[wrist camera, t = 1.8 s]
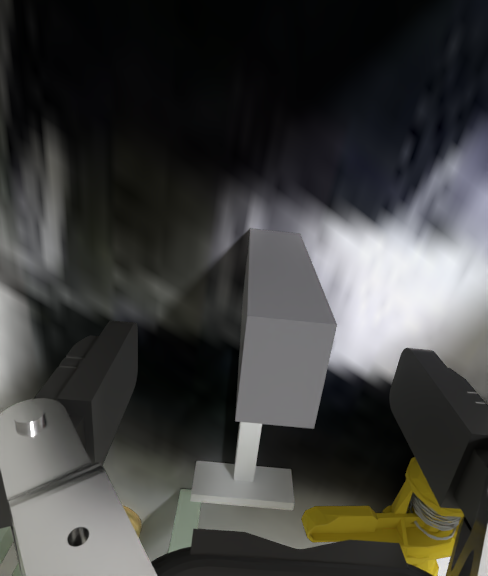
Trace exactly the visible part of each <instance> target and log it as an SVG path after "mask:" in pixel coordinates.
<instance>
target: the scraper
mask: <svg viewBox="0 0 488 576" xmlns="http://www.w3.org/2000/svg"><path fill="white" fill-rule="evenodd" d="M336 326H337V324H336V321H335V319H334V316H333V314H332V311H331V309H330V306H329V304H328V302H327V299H326V297H325V294H324V292H323V289H322V287H321V284H320V282H319V279H318V277H317V274H316V272H315V269H314V267H313V264H312V262H311V259H310V257H309V254H308V252H307V249H306V247H305V244H304V242H303V240H302V237H301V235H300V234H299V233H289V232H279V231H269V230H260V229H250V234H249V244H248V253H247V262H246V272H245V281H244V290H243V302H242V318H241V334H240V351H239V367H238V384H237V400H236V416H235V421H237V422H239V430H238V439H237V447H236V455H235V464H229V463H218V462H207V461H196V466H195V472H194V478H193V484H192V490H191V500H190V501H192V502H203V503H214V504H225V505H237V506H248V507H259V508H270V509H281V510H293V509H294V505H295V501H294V491H293V482H292V473H291V469H284V468H273V467H262V466H256V461H257V454H258V448H259V441H260V434H261V428H262V424H269V425H280V426H290V427H301V428H312V429H314V427H315V422H316V417H317V413H318V408H319V404H320V399H321V395H322V390H323V386H324V381H325V376H326V372H327V367H328V363H329V358H330V354H331V349H332V345H333V340H334V335H335V331H336Z"/></svg>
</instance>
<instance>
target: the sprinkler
mask: <svg viewBox="0 0 488 576" xmlns="http://www.w3.org/2000/svg"><path fill="white" fill-rule="evenodd" d="M405 476H406V481H405V483H404V484H403V486H402V488H401V490H400V491H399V493H398V495H397V497H396V498H395V500H394V502H393V504H392V506H388V507H386V508H385V509H384V510H383V513H375V512H374V511H373V510H372V509H371V508H370V507H369V506H314V507H312V508H310V509H308V510H306V511H305V512H304V514H303V516H302V518H301V520H302V523H303V526H304V529H305V532H306V535H307V538H308V539H309V540H310V541H311V542H340V541H345V540H363V541H377V542H391V543H399V544H400V546H401V549H402V552H403V555H404V557H405V560H406V563H408V564H411V565H413V566H415V567H418V568H420V569H422V570H424V571H426V572H428V573H430V574H431V575H433V576H438V569H439V567H438V564H437V561H436V559H439V558H445V557H450V556H451V554H452V551H453V547H454V543H455V539H456V536H457V532H458V528H459V525H460V522H461V520H462V518H463V516H464V514H463V512H462V510H461V509H454V508H441V507H440V506H439V504H438V502H437V500H436V498H435V496H434V494H433V492H432V490H431V488H430V486H429V484H428V482H427V480H426V478H425V476H424V474H423V472H422V470H421V468H420V466H419V464H418V462H417V460H416V458H415V457H413V458H411V460H410V463H409V465H408V468H407V471H406V474H405ZM412 493H413V494H412ZM411 496H412V497H411ZM410 499H411V501H410ZM418 500H419V501H418ZM409 502H410V508H409V509H408V513H406V511H407V508H408V505H409ZM423 502H424V503H423ZM412 505H413V506H412Z"/></svg>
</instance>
